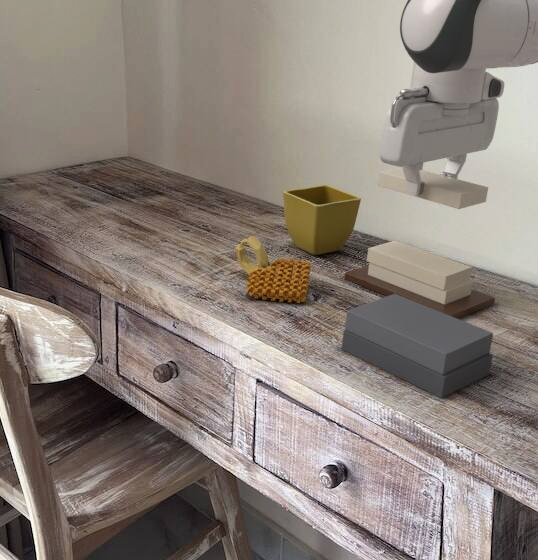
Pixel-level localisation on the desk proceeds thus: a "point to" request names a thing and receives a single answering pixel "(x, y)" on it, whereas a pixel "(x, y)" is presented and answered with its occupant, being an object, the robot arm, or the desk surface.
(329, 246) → the flower pot
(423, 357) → the grey stack
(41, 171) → the desk surface
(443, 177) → the cream book
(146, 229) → the desk surface
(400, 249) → the cream stack
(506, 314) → the desk surface
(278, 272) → the ornament
